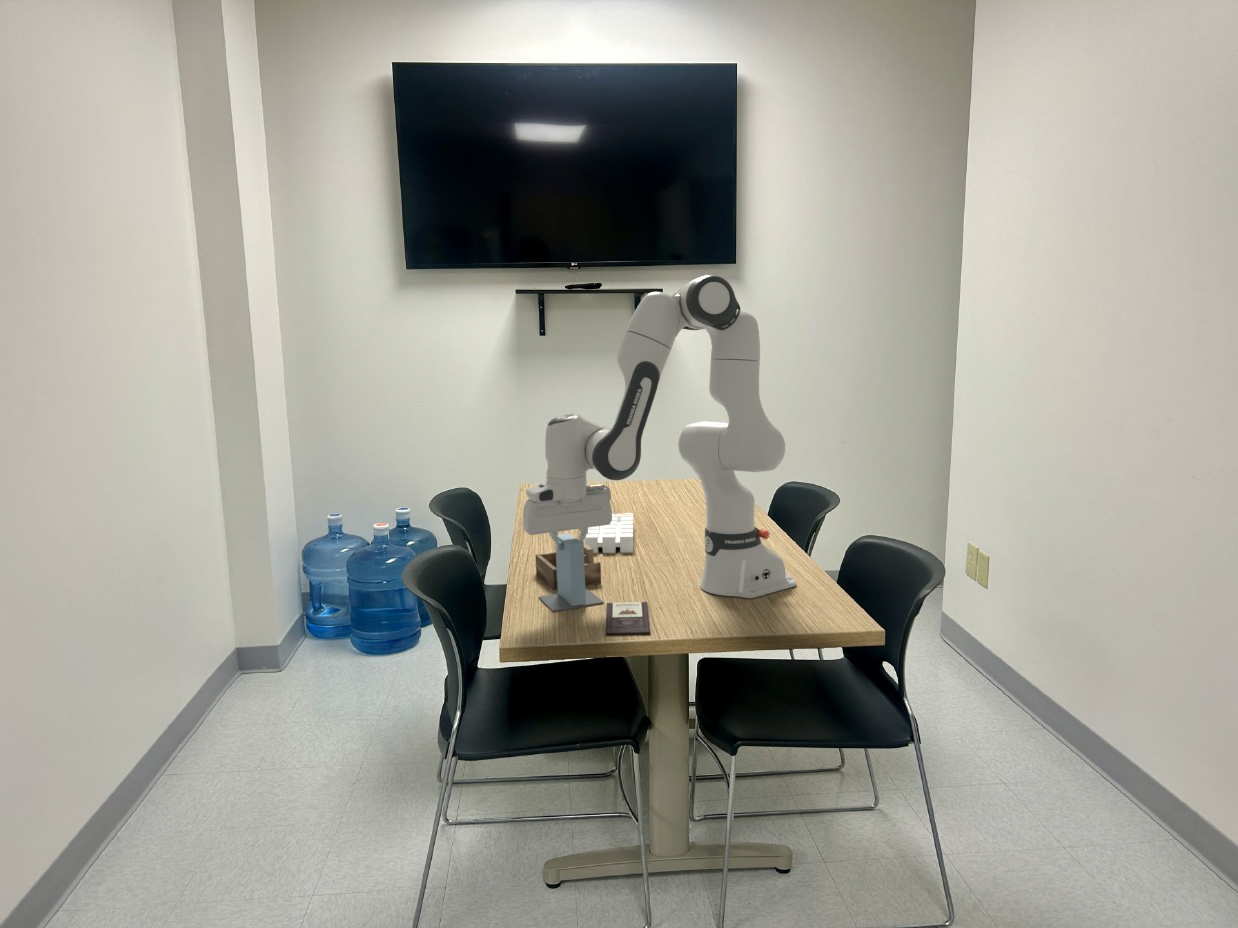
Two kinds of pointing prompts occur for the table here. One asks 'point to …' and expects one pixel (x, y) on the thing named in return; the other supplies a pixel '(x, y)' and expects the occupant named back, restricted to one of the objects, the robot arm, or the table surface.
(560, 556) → the light blue block
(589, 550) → the offcuts
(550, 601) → the mat
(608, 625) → the chocolate bar
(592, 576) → the rack
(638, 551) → the table surface
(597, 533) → the organizer
